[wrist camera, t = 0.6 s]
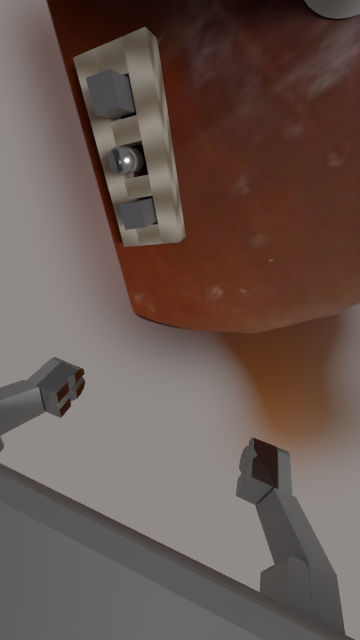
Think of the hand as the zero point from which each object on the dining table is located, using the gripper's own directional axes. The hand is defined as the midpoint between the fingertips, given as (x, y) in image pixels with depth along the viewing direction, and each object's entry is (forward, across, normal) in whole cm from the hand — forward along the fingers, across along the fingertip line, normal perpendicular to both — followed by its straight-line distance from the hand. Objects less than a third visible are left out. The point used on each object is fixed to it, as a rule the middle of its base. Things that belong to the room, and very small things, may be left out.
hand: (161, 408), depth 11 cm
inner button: (+38, +24, -12) cm, 47 cm away
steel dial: (+38, +21, -5) cm, 44 cm away
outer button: (+39, +18, +2) cm, 43 cm away
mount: (+42, +21, -5) cm, 47 cm away
